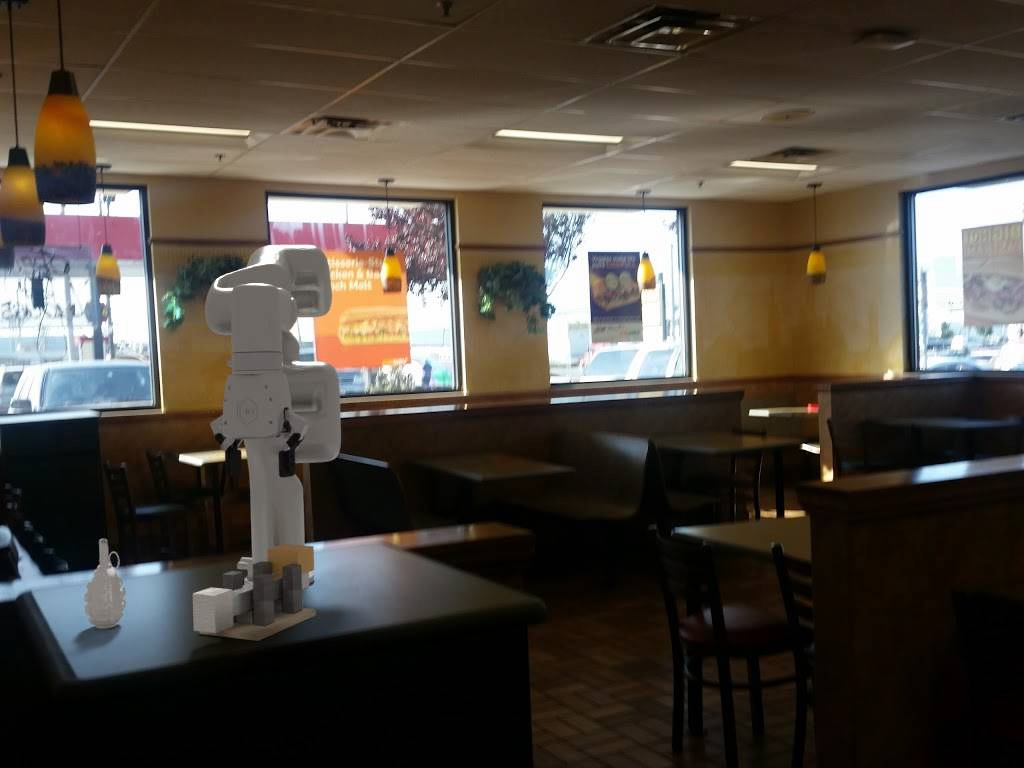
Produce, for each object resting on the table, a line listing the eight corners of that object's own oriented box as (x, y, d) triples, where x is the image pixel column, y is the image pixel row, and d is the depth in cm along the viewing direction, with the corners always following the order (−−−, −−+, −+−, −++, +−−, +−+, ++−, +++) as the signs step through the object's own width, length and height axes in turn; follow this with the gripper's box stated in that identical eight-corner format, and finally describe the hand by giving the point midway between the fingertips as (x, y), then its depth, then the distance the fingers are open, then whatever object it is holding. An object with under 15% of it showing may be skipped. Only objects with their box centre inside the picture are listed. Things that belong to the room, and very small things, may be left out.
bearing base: (199, 633, 160) (197, 578, 159) (260, 609, 173) (258, 558, 173) (258, 640, 155) (256, 584, 155) (315, 615, 169) (314, 563, 169)
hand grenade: (78, 626, 165) (75, 539, 164) (116, 618, 169) (113, 533, 169) (98, 635, 160) (95, 545, 159) (137, 627, 164) (134, 539, 163)
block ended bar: (193, 630, 153) (192, 593, 153) (292, 591, 176) (291, 559, 175) (215, 633, 152) (214, 595, 151) (312, 593, 174) (311, 561, 174)
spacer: (267, 573, 171) (267, 549, 171) (284, 567, 175) (283, 543, 175) (298, 575, 169) (297, 551, 169) (314, 570, 173) (313, 546, 173)
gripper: (195, 366, 159) (198, 478, 159) (291, 363, 153) (294, 479, 153) (226, 366, 166) (228, 473, 166) (319, 363, 160) (321, 474, 160)
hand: (260, 476), depth 160 cm, fingers open, 9 cm apart
